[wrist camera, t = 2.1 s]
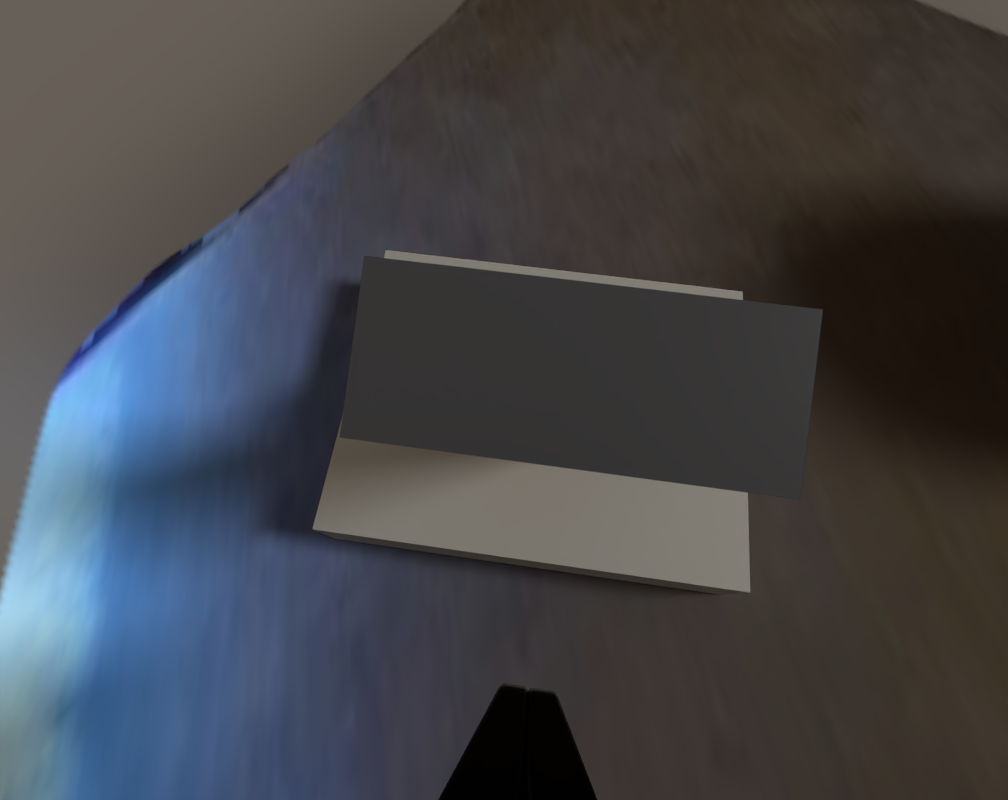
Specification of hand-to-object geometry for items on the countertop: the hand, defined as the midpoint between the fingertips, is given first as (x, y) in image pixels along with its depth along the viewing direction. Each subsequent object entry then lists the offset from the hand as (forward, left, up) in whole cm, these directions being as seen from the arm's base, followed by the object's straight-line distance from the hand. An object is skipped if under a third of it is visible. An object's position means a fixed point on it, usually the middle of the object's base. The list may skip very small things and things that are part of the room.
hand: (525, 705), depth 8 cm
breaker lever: (+6, +4, -7) cm, 11 cm away
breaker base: (+6, +4, -11) cm, 13 cm away
